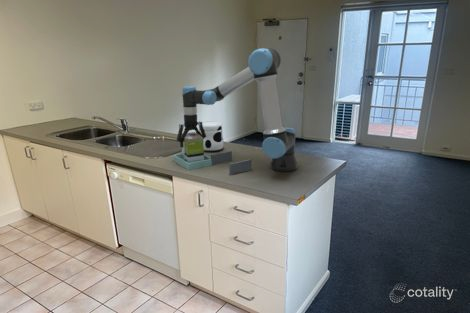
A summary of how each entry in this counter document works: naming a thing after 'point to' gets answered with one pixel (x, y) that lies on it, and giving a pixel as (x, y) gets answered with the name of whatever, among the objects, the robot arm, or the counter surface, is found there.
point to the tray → (189, 166)
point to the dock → (233, 167)
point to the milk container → (212, 136)
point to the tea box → (193, 147)
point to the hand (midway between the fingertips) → (192, 150)
